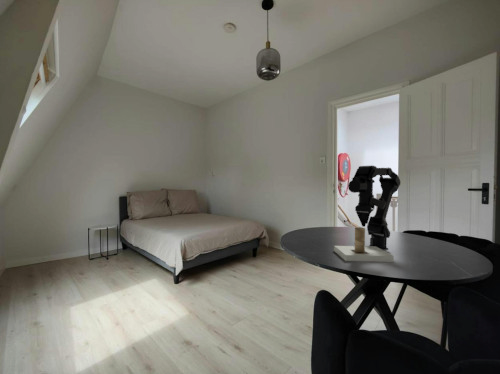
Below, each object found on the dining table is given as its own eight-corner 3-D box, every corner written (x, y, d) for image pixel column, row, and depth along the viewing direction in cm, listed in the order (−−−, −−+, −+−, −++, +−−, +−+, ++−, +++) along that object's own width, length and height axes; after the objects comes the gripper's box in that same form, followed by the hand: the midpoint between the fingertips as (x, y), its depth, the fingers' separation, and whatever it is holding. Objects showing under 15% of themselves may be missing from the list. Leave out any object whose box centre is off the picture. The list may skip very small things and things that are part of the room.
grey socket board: (375, 251, 111) (376, 246, 111) (393, 261, 97) (393, 255, 97) (334, 250, 111) (334, 245, 111) (345, 261, 97) (345, 255, 97)
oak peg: (361, 255, 104) (362, 227, 104) (366, 258, 100) (366, 229, 100) (352, 255, 104) (353, 227, 104) (356, 258, 100) (357, 229, 100)
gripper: (384, 193, 97) (383, 230, 97) (386, 192, 112) (385, 223, 113) (355, 192, 103) (354, 227, 103) (361, 191, 118) (360, 221, 119)
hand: (365, 224), depth 109 cm, fingers open, 9 cm apart
